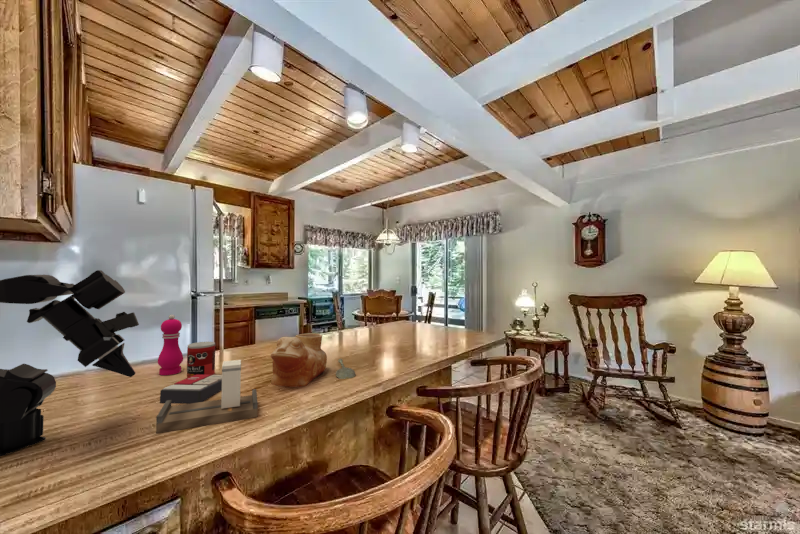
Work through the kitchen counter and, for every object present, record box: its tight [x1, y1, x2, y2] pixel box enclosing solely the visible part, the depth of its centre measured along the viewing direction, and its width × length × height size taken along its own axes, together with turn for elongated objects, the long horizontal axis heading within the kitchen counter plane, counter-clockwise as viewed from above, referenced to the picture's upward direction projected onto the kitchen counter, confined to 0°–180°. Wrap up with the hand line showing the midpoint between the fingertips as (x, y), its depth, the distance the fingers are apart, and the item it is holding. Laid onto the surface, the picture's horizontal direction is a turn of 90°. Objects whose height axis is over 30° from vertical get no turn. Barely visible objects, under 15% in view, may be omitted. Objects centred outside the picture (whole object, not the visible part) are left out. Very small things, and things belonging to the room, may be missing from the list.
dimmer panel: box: [155, 388, 259, 434], centre depth 80 cm, size 20×10×4 cm, turn 115°
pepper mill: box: [157, 314, 184, 376], centre depth 114 cm, size 7×7×20 cm
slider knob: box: [221, 359, 242, 409], centre depth 82 cm, size 4×5×10 cm
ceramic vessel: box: [270, 332, 328, 388], centre depth 110 cm, size 14×26×15 cm, turn 170°
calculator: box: [159, 374, 222, 405], centre depth 95 cm, size 11×4×15 cm
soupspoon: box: [335, 358, 356, 380], centre depth 119 cm, size 22×3×7 cm
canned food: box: [186, 341, 216, 378], centre depth 109 cm, size 8×8×11 cm
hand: (133, 375), depth 74 cm, fingers closed
